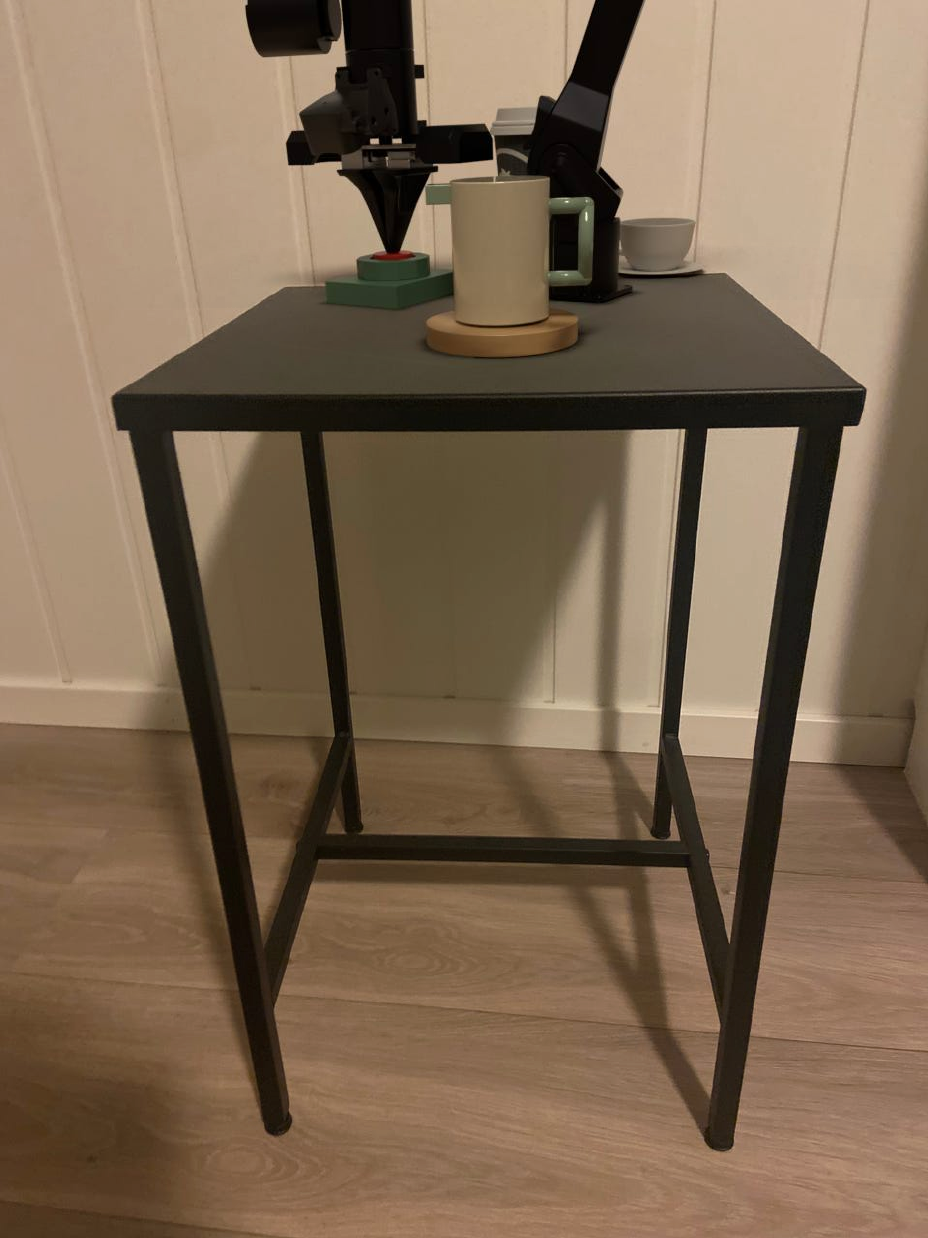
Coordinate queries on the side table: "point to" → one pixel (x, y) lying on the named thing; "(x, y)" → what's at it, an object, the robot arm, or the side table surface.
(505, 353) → the disc
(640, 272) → the teacup
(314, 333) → the side table surface
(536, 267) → the jug
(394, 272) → the button box
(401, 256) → the button
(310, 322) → the side table surface
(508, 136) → the coffee cup
